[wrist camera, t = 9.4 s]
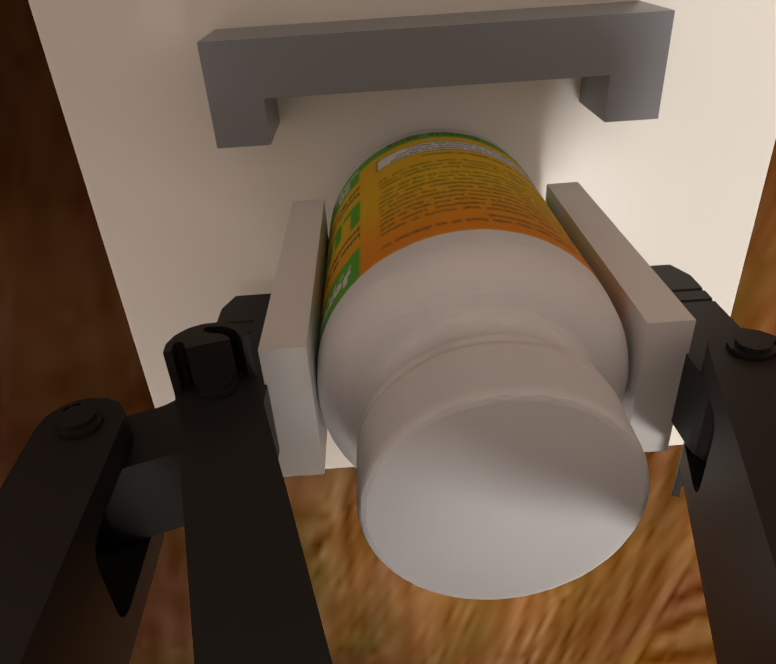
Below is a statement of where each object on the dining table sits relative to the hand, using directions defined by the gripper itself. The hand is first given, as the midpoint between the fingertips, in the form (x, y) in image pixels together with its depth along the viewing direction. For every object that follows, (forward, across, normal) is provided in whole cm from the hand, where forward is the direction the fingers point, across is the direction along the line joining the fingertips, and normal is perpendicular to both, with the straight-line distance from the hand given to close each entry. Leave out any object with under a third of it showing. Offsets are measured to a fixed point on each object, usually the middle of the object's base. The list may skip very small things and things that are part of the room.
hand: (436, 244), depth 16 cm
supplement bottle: (+1, 0, 0) cm, 1 cm away
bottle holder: (+3, 0, 0) cm, 3 cm away
